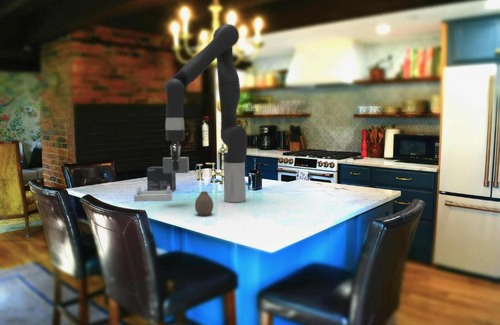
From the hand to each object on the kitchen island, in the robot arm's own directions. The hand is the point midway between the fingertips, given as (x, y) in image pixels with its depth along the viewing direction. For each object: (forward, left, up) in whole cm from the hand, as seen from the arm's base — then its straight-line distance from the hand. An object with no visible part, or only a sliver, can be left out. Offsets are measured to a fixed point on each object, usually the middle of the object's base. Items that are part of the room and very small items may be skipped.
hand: (176, 169), depth 166 cm
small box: (+9, -37, -16) cm, 41 cm away
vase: (-11, +17, -16) cm, 26 cm away
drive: (0, 0, -1) cm, 1 cm away
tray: (+11, -17, -15) cm, 25 cm away
